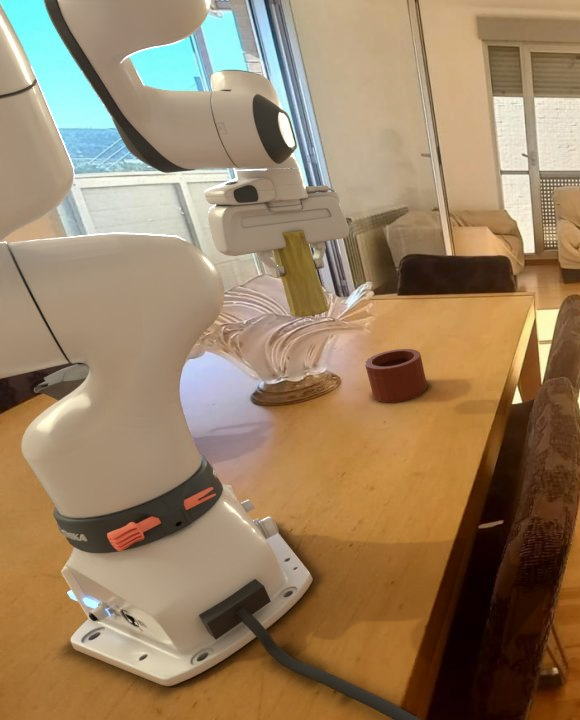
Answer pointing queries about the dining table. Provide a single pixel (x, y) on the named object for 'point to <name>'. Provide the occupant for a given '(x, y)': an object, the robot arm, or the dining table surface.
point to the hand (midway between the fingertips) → (299, 272)
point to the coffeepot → (63, 381)
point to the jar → (396, 375)
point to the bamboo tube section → (300, 277)
